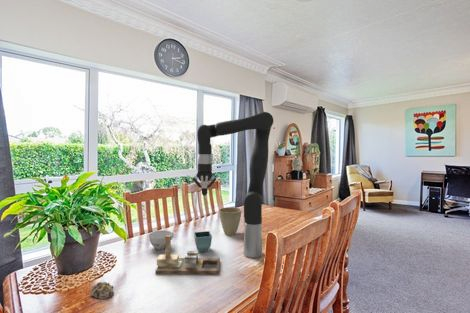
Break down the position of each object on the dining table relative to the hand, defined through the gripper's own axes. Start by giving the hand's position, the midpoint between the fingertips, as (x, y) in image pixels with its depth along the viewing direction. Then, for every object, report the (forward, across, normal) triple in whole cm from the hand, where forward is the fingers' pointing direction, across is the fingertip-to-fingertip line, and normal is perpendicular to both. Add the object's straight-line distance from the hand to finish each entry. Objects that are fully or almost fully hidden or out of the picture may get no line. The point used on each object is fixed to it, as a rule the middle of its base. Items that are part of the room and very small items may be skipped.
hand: (204, 195), depth 135 cm
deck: (+31, +5, +17) cm, 36 cm away
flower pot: (+31, +1, -3) cm, 31 cm away
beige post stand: (+29, +15, +17) cm, 37 cm away
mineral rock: (+32, +35, +38) cm, 60 cm away
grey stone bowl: (+31, +24, -7) cm, 40 cm away
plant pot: (+31, -14, -30) cm, 45 cm away
